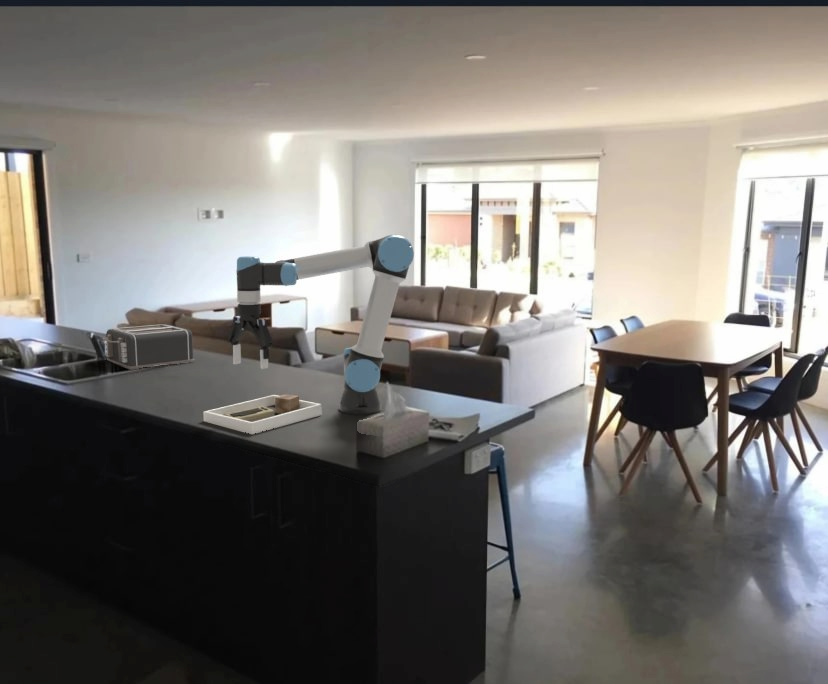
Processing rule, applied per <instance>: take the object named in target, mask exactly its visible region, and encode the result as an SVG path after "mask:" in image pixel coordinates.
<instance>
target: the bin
mask: <svg viewBox="0 0 828 684" xmlns="http://www.w3.org/2000/svg"><path fill="white" fill-rule="evenodd" d="M278 396H279V395H277V394H271V395H267V396H264V397H263V396H262V397H259V398H256V399H252V400H251V399H250V400H247V401H243V402H237V403H234V404H231V405H230V404H229V405H225V406H222V407H218V408H214V409H209V410H205V411H203V412H202V413H203V414H202V415H203V422H205V423H209V424H213V425H216V426H220V427H223V428H227V429H230V430H235V431H238V432H242V433H245V432H246V433H245V434H248V433H249V435H255V433H256V434H259V433H263V432H266V430H267V431H269V430H273V428H274V429H277V428H280V427H284V426H287V425H291V424H296V423H299V422H302V421H305V420H309V419H313V418H316V417H320V416H323V414H322V413H323V410H322V409H323V405H322V403H317V402H312V401H307V400H302V399H299V410H295V411H291V412H288V413H284V414H280V413H279V414H278V415H274V416H272V417H269V418H264V419H261V420H255V421H251V422H250V421H245V420H241V419H237V418H233V417H229V416H224V415H223V414H226V413H231V412H236V411H240V410H245V409H250V408H254V407H259V406H263V407H267V408H269V407H271V406H275V397H278ZM262 431H263V432H262Z"/></svg>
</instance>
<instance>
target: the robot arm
mask: <svg viewBox="0 0 828 684" xmlns="http://www.w3.org/2000/svg"><path fill="white" fill-rule="evenodd" d="M414 256H415V251H414V247H413V245H412V243H411V242H410V240H409V239H407V238H406V237H405V236H402V235H400V234H390V235H385V236H384V237H381V238H379V239H375V240H370V241H367V242H366V243H365V244H364V245H360V246H354V247H349V248H344V249H338V250H337V249H336V250H334V251H333V250H332V251H327V252H321V253H316V254H312V255H306V256H301V257H294V258H290V259H283V260H277V261H276V262H263V261H262V262H261V260H260V257H259V256H239V257H238V258H237V259H236V270H235V271H236V292H237V293H236V294H237V295H236V297H237V299H236V300H237V301H236V302H238V304H237V315H236V316H233V317H232V324H231V327H230V331H229V332H228V333H229V334H228V337H227V342H228V343H230V345H231V349H232V350H231V351H232V357H233V358H232V359H233V360H232V363H233V365H239V364H242V353H241V352H242V351H241V348H242V347H241V340H242V338H243V337H244V335H245V333H246V332H250V333H251V334H253V335H254V337H255V339H256V341H257V342H258V344H259V346H260V347H261V348H259V349H260V350H259V357H260V362H259V363H260V364H259V365H260V370H265V369H269V359H270V349H271V348H274V342H273V340H272V336H271V334H270V331H269V327H268V326H267V325H268V323H267V318H260V315H261V314H262V307H261V306H262V305H261V304H260V303H261V286H284V287H287V286H295V285H296V284H297V280H302V279H308V278H314V277H320V276H325V275H330V274H335V273H341V272H347V271H352V270H358V269H359V270H360V269H363V268H370V269H372V272H373V274H374V280H373V284H372V287H371V290H370V295H369V298H368V301H367V306H366V310H365V313H364V316H363V320H362V324H361V328H360V331H359V335H358V339H357V343H356V344H355V345H353V346H351V347H346V348H344V351H343V380H344V381H343V386H344V387H343V391H342V392H343V393H342V395H341V399H340V402H339V411H340V412H342V413H344V414H348V415H371V414H377V413H379V412H381V411H382V402H381V401H380V398H379V393H378V391H377V385H378V384H379V382H380V379H381V369H382V366H383V362H384V358H385V357H384V356H385V355H384V353H383V352H382V350H383V345H384V341H385V337H386V335H387V331H388V327H389V324H390V320H391V318H392V317H391V316H392V313H393V310H394V304H395V302H396V299H397V295H398V290H399V287H400V284H401V283H402V282H404V281H405V280H406V279H407V277H408V276H407V275H408V272H409V269H410V266H411V264H412V263H413V260H414Z"/></svg>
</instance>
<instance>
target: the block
mask: <svg viewBox="0 0 828 684" xmlns="http://www.w3.org/2000/svg"><path fill="white" fill-rule="evenodd" d="M299 400H300V396H299V395H295V394H286V393H285V394H282V395H278V397H275V405H274V406H275V407H274V409H275V411H274V414H279V415H280V414H284V413H288V412H291V411H295V410H299Z"/></svg>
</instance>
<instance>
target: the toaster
mask: <svg viewBox="0 0 828 684" xmlns="http://www.w3.org/2000/svg"><path fill="white" fill-rule="evenodd" d="M105 335H106V337H102V340H103V341H104V342H105V344H104V345H105V356H106V358H107V360H106V361H108V362H110V363H113V364H115V365H118V366H120V367H122V368H125V369H128V370H130V371H132V370H140V369H139V368H142V369H144V368H143V367H148V366H153V365H160V364H177V365H179V364H178V363H186V362H195V363H196V358H195V357H194V339H193V332H192V330H190V329H188V328H185V327H180V326H175V325H171V324H162V323H161V324H151V325H140V326H128V327H116V328H115V327H114V328H109V329H107V331H106V333H105ZM186 364H187V363H186Z"/></svg>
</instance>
